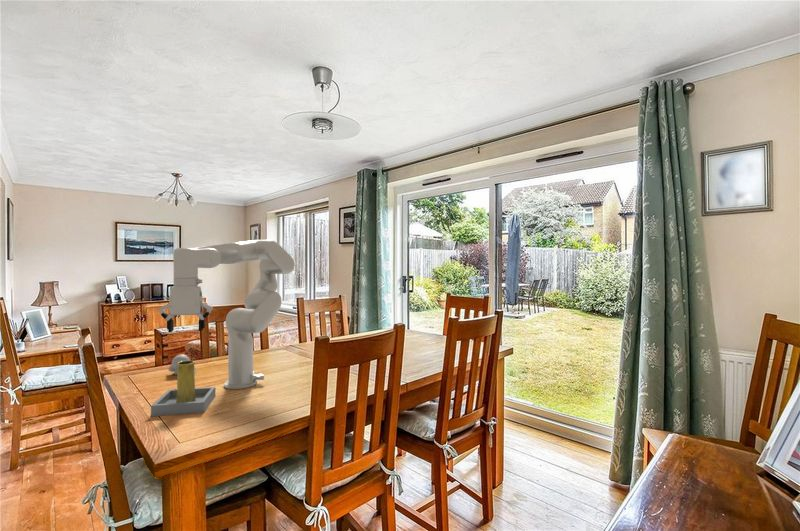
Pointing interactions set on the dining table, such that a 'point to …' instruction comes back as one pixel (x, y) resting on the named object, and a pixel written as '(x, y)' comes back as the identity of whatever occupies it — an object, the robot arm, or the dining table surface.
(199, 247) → the robot arm
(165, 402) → the tray
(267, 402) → the dining table surface
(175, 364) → the chubby cartoon animal
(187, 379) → the vase
